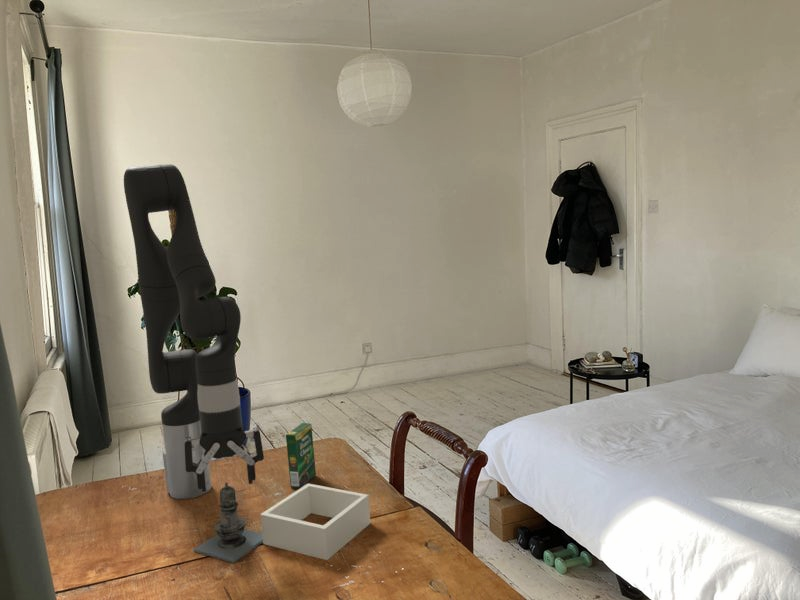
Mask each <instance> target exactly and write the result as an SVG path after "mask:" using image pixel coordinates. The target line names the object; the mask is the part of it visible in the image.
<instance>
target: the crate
mask: <svg viewBox="0 0 800 600" xmlns="http://www.w3.org/2000/svg"><path fill="white" fill-rule="evenodd" d="M369 497H370V495H369V494H366V493H360V492H355V491H351V490H350V491H349V490H345V489H340V488H333V487H329V486H323V485H318V484H313V483H306V484H305V485H304V486H302V487H301V488H300V489H299V488H298V489H297V490H295V491H293V492H292V493H291V494H289V495H287V497H285V498H284V499H282V500H281V501H279V502H277V503H275V504H274V505H273V506H271V507H269V508H268V509H267V510H265V511H263V512H261V513H260V526H261V533H262V537H263V542H262V544H263V545H267V546H271V547H274V548H277V549H282V550H285V551H289V552H294V553H296V554H297V553H298V554H302V555H306V556H309V557H313V558H317V559H321V560H324V561H328V560H329V559H331V558H332V557H333V556H334V555H335V554H336V553H337V552H339V551H340V550H341V549H342V548H343V547H344V546H346V545H347V544H348V543H350V541H352V540H353V539H354V538H356V536H358V534H359V533H361V532H362V531H363V530H365V528H366V527H368V526H369V525H371V512H370V499H369ZM311 514H313V515H318V516H323V517H326V518H331V519H330V520H328V521H327V522H326V523H325V524H323V525H322V524H319V523H314V522H309V521H306V520H304V519H305V518H307V517H308V516H310V515H311Z"/></svg>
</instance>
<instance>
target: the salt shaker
mask: <svg viewBox="0 0 800 600" xmlns="http://www.w3.org/2000/svg"><path fill="white" fill-rule="evenodd" d="M224 485H225V486H223V487H222V488H221V489H220V490H219V502H220V504H219V505H218V509H219V510H220V517H221V518H220V520H219V521H218V522H217V523H215V525H214V530H215V531H216V533H217V534H218V535H219V537H221V538H222V539H221V540H219V542H218V546H219V547H220V548H223V549H231V548H236V547H239V546H241V545H242V544H244V543H245V541H246V537H245V536H243V535H241V534H242V533H243V532H244V529H246V528H245V526H246V524H247V520H246V519H245V518H244V517H239V514H238V506H239V502H237V499H236V498H237V496H236V490H235V488H234V487H233V486H231V485H229V483H228V482H227V481H226V482H225V483H224ZM217 534H216V535H217Z"/></svg>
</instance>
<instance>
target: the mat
mask: <svg viewBox="0 0 800 600" xmlns="http://www.w3.org/2000/svg"><path fill="white" fill-rule="evenodd" d="M241 535H243V536H245V537H246V541H245V543H244V544H242V545H241V546H239V547H236V548H231V549H223V548H220V547H219V546H218V542H219V540H221V539H222V538H221V537H219V535H218V534H216V535H214V536H213V537H211V538H209V539H207V540H206V541H205V542H203V543H201V544H200V545H199V546H196V547H195V548H194V549H193V552H194V553H197V554H200V555H205V556H208V557H211V558H215V559H218V560H223V561H225V562H229V563H233V564H234V563H236V562H237V561H238V560H240V559H241V558H243V557H245V555H247V554H248V553H250V552H251V551H252V550H254V549H256V548H257V547H258V546H259V545H261V544H263V537H262V532H259V531H255V530H250V529H246V528H244V532H243V533H242V534H241Z"/></svg>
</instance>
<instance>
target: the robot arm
mask: <svg viewBox="0 0 800 600" xmlns="http://www.w3.org/2000/svg"><path fill="white" fill-rule="evenodd" d="M186 185H187V184H186V181H185V178H184V177H183V174H182V173H181V171H180V169H179V168H178V167H177V166H176V165H174V164H168V163H167V164H165V163H164V164H151V165H141V166H132V167H128V168H127V169H125V171H124V174H123V189H124V190H123V191H124V197H125V203H126V207H127V212H128V216H129V221H130V227H131V231H132V237H133V242H134V250H135V258H136V268H137V279H138V280H137V281H138V287H139V296H140V301H141V306H142V313H143V318H144V325H145V332H146V346H147V359H148V360H147V362H148V374H149V380H150V381H149V382H150V385H151V388H152V390H153V391H154V393H156V394H160V395H161V394H170V393H177V392H184V391H186V393H185V395H183V396H182V397H181V398H180V399H179V400H177V401H175V402H174V403H171V404H169V405H168V406H166V407H164V408H162V411H161V413H160V414H161V416H160V417H161V419H160V420H161V426H162V427H161V428H162V434H163V443H164V452H163V454H162V459H163V468H164V477H165V486H166V493H168V494H170V496H171V498H173V499H177V500H179V499H180V500H186V499H194V498H196V497H198V498H199V497H200V496H203V495H205V494H207V493H208V492H210V491H211V489H212V480H211V479H212V478H211V471H210V469H211V468H210V462H211V461H212V459H216V460H217V459H223V458H225V457H226V458H231V457H234V456H235V455H237V456H238V457H240V458H241V459H242V460H243V461H245V463H246V471H247V481H248V485H252V484H253V481H256V463H259V462H262V461H263V460H264V459H265V456H264V449H263V445H262V443H263V442H262V437H261V432H260V428H259V427H257V426H256V427H253V428H252V429H249V430H245V429H244V428H243V417H242V407H241V395H240V389H239V384H238V378H237V371H236V360H235V359H236V358H235V357H236V350H237V344H238V343H237V342H238V336H239V332H240V326H241V320H242V319H241V317H242V316H241V310H240V307H239V306H238V304H237V302H236V301H235V300H234V299H233V298H232V297H230V296H219V297H214V298H206V299H205V298H204V299H199V298H202V297H204V296H206V295H208V294H210V293H211V292H212V291H213V290H214V289H215V287H216V281H217V280H216V277H215V274H214V272H213V270H212V268H211V265H210V263H209V260H208V257H207V255H206V253H205V251H204V248H203V246H202V243H201V239H200V235H199V231H198V227H197V223H196V219H195V214H194V212H193V211H194V210H193V207H192V204H191V198H190V195H189V192H188V188H187V186H186ZM167 211H174V214H175V225H174V229H173V233H172V235H171V238H170V240H169V244H168V247H166V246H165V245H164V243H163V242H162V241H161V240H160V239H159V237H158V236H157V235H156V233H155V232H154V229H153V228H152V226H151V223H150V218H149V214H153V213H158V212H167ZM179 315H180V318H179V319H180V327H181V329H182V331H183V333H184V334H185V335H186V336H187V337H188V338H190V339H192V340H205V339H210V338H215V337H216V339H215V341H214V343H213V344H212V345H211V346H209V347H207V348H205V349H203V350H201V351H199V352H198V353H197V351H196V350H195V349H193V348H192V349H181V350H173V351H171V350H170V351H165V352H163V350H164V348H165V347H164V346H165V344H166V343H165V342H166V339H167V337H168V335H169V332H170V330H171V328H172V327H173V325H174V323H175V322H176V320H177V319H178V317H179ZM246 438H248V439H249V441H250V442H253V443H254V447H255V453H253V454H252V453H251V452H250V451H249V450H248V449H247V447H245V446H244V445H243V444H244V442H245V440H246Z"/></svg>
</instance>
